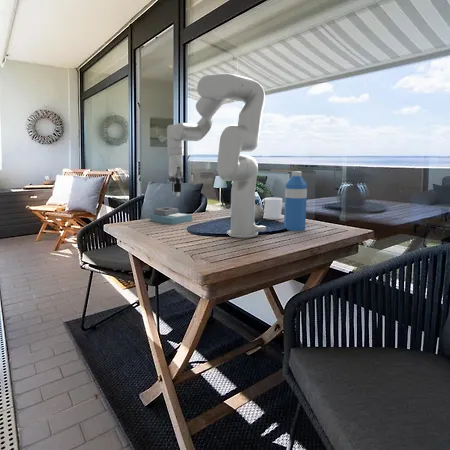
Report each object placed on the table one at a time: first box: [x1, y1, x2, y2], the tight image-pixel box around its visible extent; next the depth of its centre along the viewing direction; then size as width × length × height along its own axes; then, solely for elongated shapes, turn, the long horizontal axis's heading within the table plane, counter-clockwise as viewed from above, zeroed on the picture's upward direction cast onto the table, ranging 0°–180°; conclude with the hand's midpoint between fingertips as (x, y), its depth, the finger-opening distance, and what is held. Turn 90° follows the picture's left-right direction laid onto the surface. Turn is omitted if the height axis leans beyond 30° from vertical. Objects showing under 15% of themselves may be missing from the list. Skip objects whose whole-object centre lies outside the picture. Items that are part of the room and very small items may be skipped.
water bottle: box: [283, 170, 308, 232], centre depth 147 cm, size 9×9×25 cm
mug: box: [261, 197, 283, 221], centre depth 174 cm, size 11×9×10 cm
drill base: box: [149, 206, 193, 226], centre depth 168 cm, size 18×13×6 cm
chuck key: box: [168, 176, 185, 198], centre depth 161 cm, size 7×3×9 cm, turn 111°
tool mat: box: [168, 212, 187, 217], centre depth 164 cm, size 6×7×1 cm
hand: (176, 191), depth 162 cm, fingers closed on chuck key, 3 cm apart
